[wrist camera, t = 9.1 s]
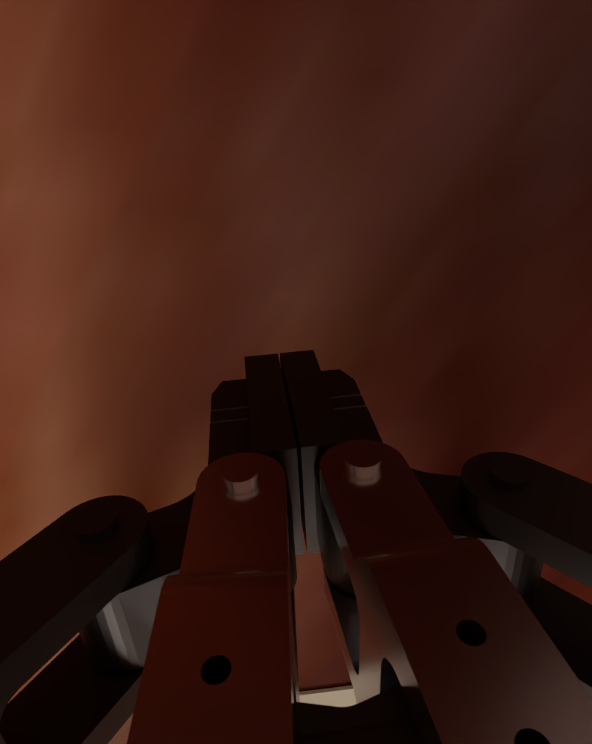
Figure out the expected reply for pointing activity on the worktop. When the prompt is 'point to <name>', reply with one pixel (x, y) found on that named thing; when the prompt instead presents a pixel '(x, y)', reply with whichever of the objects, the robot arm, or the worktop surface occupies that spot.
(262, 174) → the worktop surface
